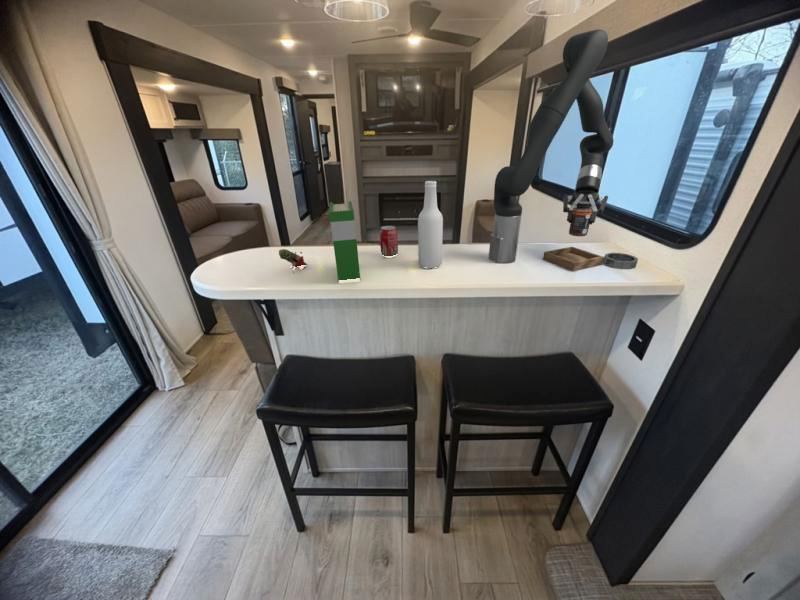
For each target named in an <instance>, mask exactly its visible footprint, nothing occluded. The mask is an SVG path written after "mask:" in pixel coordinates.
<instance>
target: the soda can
mask: <svg viewBox="0 0 800 600" xmlns="http://www.w3.org/2000/svg"><path fill="white" fill-rule="evenodd" d="M379 240H380V241H379V245H380V253H381V254H382V255H384V256H393V255H396V254H398V255H399V241H398V240H399V239H398V231H397V229H396V226H395V225H384V226H383V225H382V226H381V228H380V231H379ZM381 254H380V255H381ZM382 255H381V256H382Z"/></svg>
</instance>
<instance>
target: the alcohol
mask: <svg viewBox="0 0 800 600" xmlns="http://www.w3.org/2000/svg"><path fill="white" fill-rule="evenodd" d="M437 183H438V182H437V181H436V180H426V181H425V182H424V198H423V199H424V200H423V208H422V210H421V212H420V213H419V215H418V219H417V230H418V231H417V248H418V249H417V253H418V255H417V257H418V259H417V260H418V265H419V267H420V266H422V267H427V268H435V267H438V268H440V267H441V266H442V264H443V231H444V230H443V229H444V223H443V222H444V218H443V213H442V212H441V211H440V210H439V208H438V199H437V197H438V195H437ZM440 265H441V266H440ZM439 266H440V267H439ZM422 267H421V268H422Z"/></svg>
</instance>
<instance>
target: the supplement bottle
mask: <svg viewBox="0 0 800 600" xmlns="http://www.w3.org/2000/svg"><path fill="white" fill-rule="evenodd" d="M590 205H591V202H587V201H580V202H578V204H577V208H575V209H574V210H573V214H572V219H571V223H569V230H568V235H570V236H573V237H586V236H587V235H588V232H589V229H590V225H591V224H590V220H591V215H592V209H591V208H590Z"/></svg>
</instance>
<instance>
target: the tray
mask: <svg viewBox="0 0 800 600" xmlns="http://www.w3.org/2000/svg"><path fill="white" fill-rule="evenodd" d="M542 260H544V261H546V262H548V263H551V264H553V265H555V264H556V265H555V266H558V267H561V268H563V269H565V270H569V271H571V272H576V271H583V270H586V269H589V268H595V267H598V266H602V265H603V264H604V263H603V260H604V256H602V255H599V254H596V253H592V252H590V251H587V250H584V249H581V248H577V247H575V246H567V247H563V248H557V249H551V250H546V251H543V255H542Z"/></svg>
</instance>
